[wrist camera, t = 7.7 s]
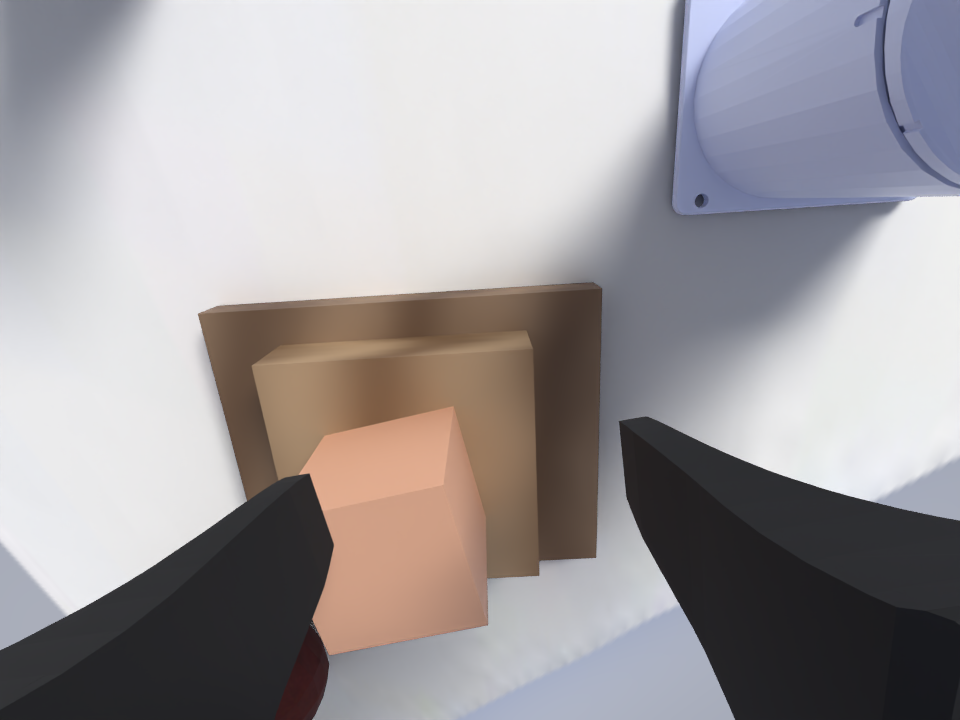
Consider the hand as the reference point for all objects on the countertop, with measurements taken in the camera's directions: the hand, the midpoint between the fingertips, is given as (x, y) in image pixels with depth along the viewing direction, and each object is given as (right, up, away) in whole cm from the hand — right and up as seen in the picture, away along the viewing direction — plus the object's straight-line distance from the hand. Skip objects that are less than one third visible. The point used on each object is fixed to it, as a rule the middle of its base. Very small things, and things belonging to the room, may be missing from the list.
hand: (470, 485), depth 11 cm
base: (-3, -1, +11) cm, 11 cm away
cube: (-3, -2, +7) cm, 8 cm away
